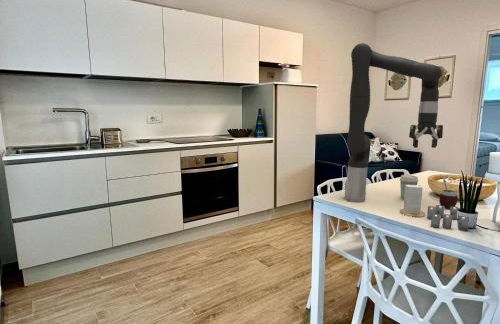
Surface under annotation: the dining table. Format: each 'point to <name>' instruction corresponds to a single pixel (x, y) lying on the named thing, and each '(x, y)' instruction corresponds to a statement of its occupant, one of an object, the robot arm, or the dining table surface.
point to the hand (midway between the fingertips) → (424, 147)
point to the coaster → (413, 214)
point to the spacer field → (447, 218)
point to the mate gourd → (448, 197)
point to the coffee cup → (407, 183)
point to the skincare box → (412, 199)
